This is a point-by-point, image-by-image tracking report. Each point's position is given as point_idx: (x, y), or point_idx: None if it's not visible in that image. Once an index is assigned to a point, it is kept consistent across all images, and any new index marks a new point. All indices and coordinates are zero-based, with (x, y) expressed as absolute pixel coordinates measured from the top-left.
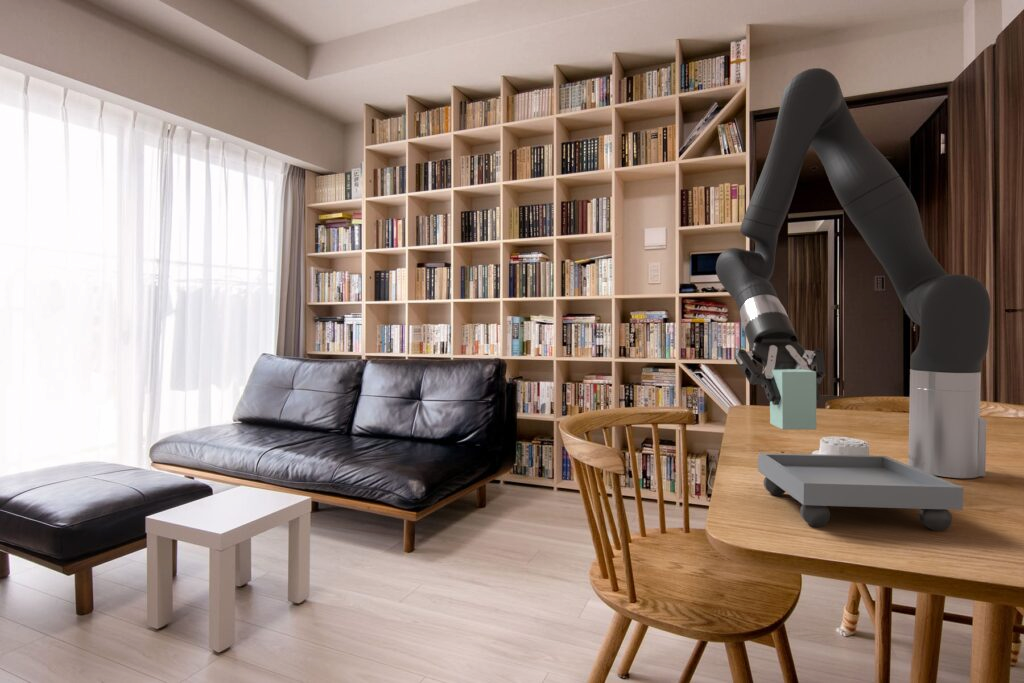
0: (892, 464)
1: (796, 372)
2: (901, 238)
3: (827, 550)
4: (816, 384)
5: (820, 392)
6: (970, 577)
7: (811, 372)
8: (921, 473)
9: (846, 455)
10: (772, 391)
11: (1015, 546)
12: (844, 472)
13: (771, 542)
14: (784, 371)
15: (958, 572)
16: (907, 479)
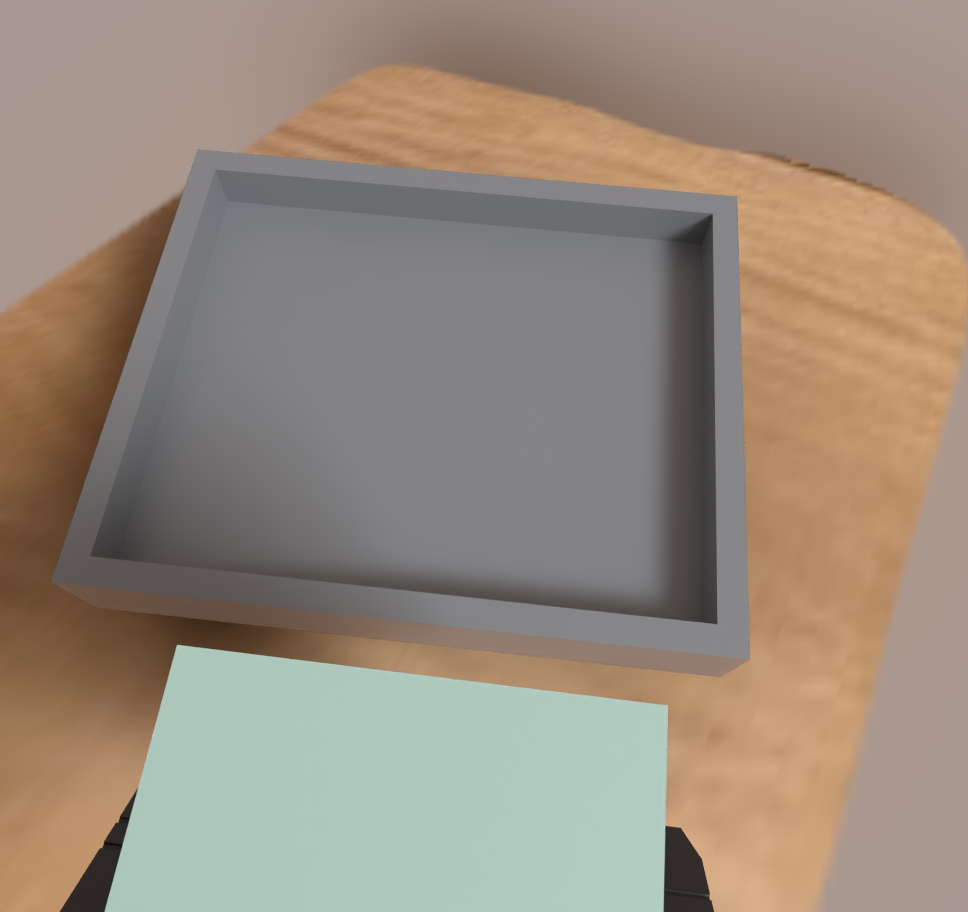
0: (121, 485)
1: (458, 680)
2: None
3: (694, 184)
4: (76, 897)
5: (135, 793)
6: (452, 76)
7: (243, 658)
8: (174, 298)
9: (263, 595)
10: (669, 882)
11: (174, 196)
12: (379, 487)
13: (824, 226)
14: (594, 787)
15: (457, 93)
16: (183, 383)
